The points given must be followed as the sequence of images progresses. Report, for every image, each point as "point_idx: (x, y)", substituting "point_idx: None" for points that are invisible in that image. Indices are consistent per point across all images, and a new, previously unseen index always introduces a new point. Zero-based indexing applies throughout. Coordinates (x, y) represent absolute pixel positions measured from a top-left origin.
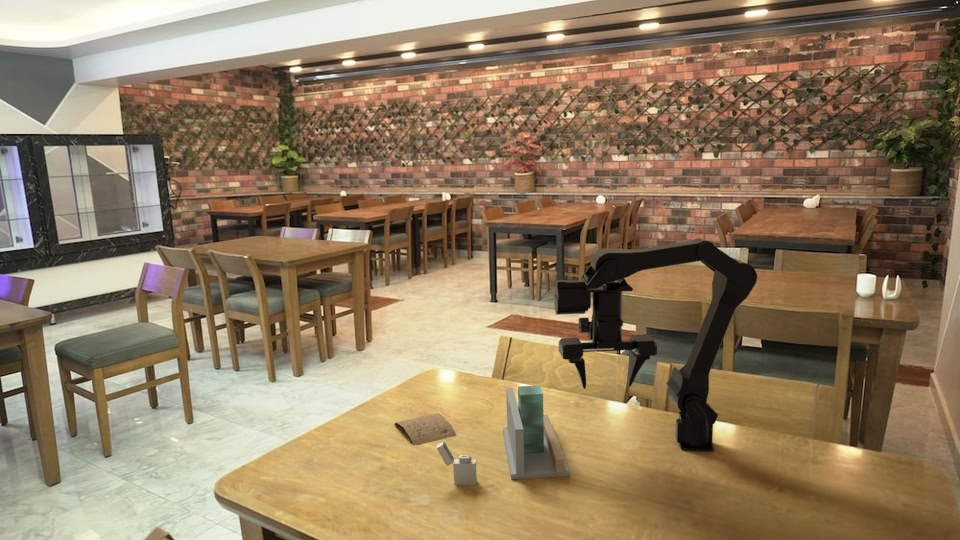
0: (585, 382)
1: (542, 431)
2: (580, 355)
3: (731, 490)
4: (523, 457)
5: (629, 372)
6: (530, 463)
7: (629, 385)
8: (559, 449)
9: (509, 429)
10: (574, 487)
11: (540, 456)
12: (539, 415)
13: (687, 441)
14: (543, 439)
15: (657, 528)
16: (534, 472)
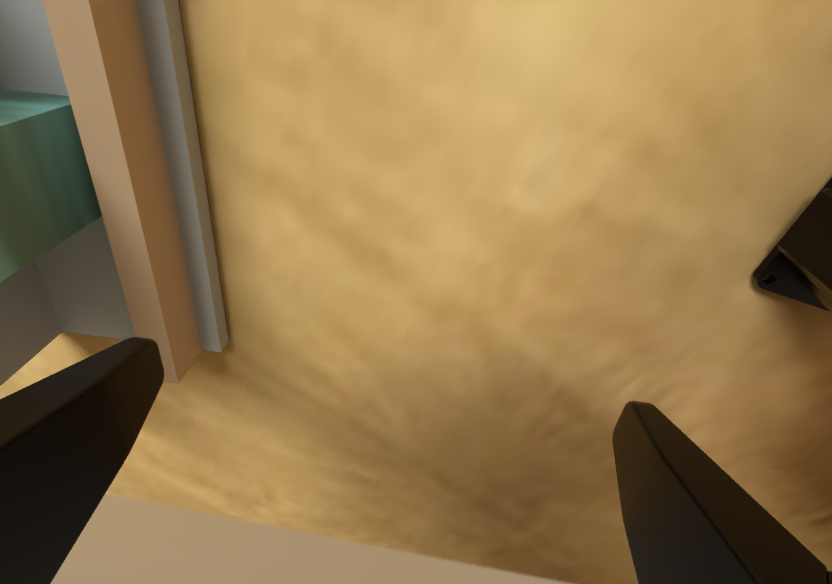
0: (115, 464)
1: (34, 254)
2: None
3: None
4: (11, 373)
5: (684, 579)
6: (71, 276)
7: (615, 456)
8: (159, 317)
9: None
10: (240, 393)
11: (105, 235)
12: None
13: (810, 285)
14: (71, 234)
15: (407, 545)
16: (97, 332)
